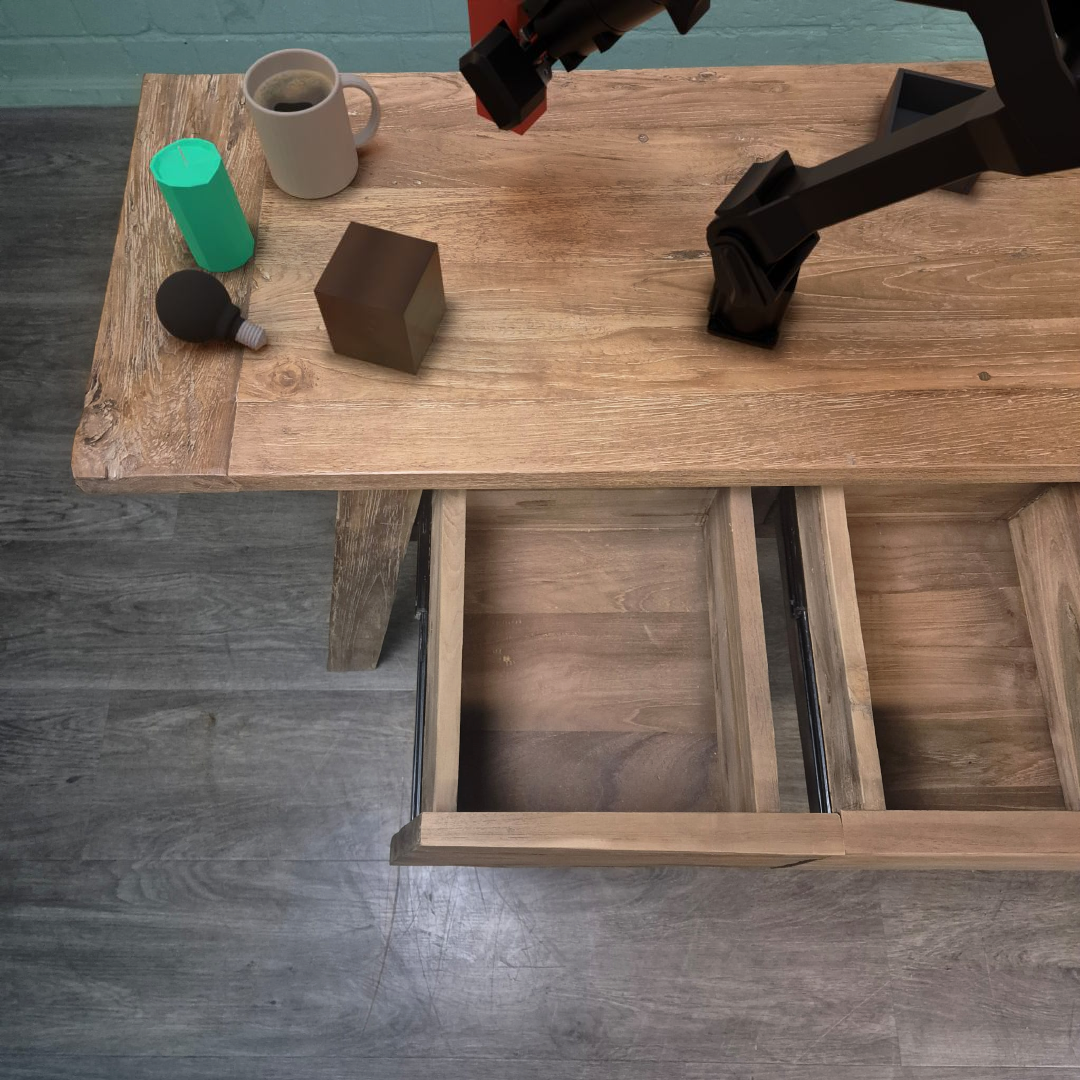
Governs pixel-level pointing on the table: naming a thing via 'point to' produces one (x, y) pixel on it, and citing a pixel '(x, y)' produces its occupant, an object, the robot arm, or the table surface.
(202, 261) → the candle
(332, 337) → the dark wooden block
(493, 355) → the table surface
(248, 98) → the mug
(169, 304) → the light bulb
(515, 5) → the red rectangular block
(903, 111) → the dark gray open box
